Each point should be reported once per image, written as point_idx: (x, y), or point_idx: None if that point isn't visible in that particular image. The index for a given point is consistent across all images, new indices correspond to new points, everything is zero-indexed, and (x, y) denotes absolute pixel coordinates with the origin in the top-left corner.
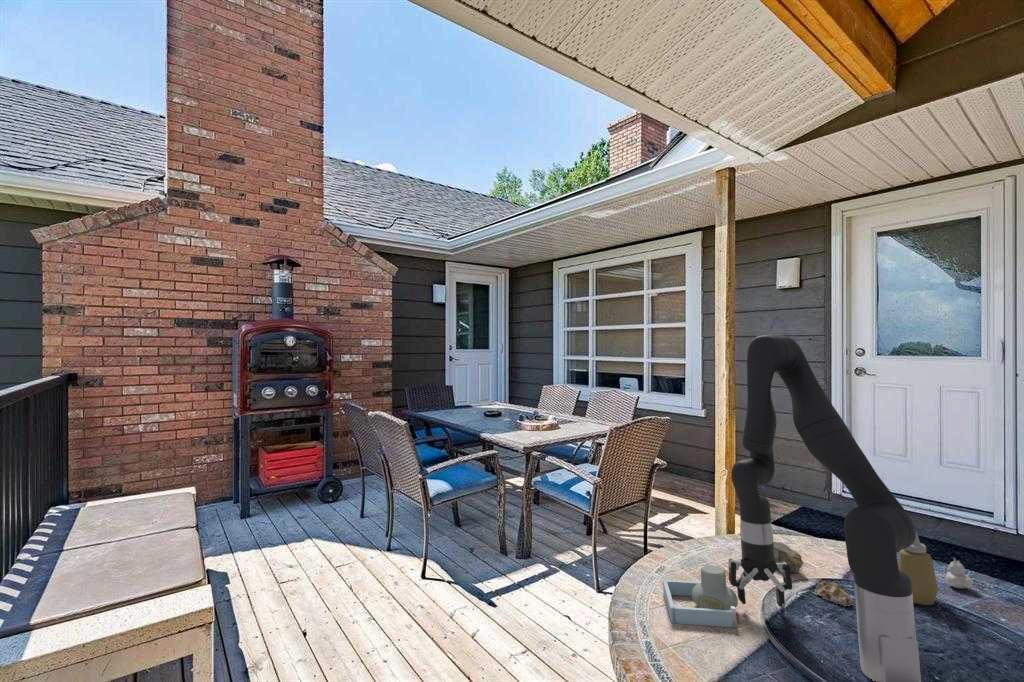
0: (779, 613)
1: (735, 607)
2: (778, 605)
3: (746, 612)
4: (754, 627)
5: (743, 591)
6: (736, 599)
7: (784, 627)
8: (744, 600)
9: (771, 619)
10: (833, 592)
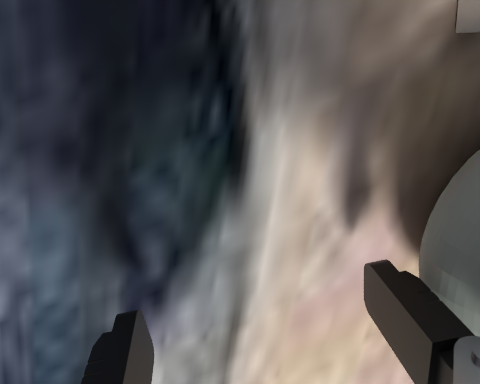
0: (148, 291)
1: (463, 177)
2: (145, 323)
3: (338, 238)
4: (333, 48)
5: (433, 327)
6: (477, 234)
7: (127, 120)
8: (386, 275)
9: (203, 203)
10: None
